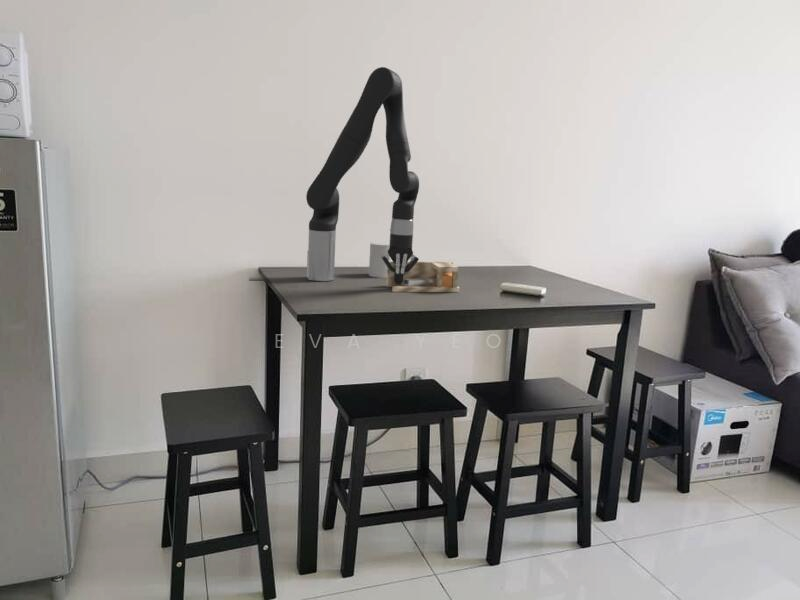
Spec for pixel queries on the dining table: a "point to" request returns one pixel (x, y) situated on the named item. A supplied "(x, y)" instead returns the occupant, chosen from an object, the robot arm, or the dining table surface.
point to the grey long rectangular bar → (420, 282)
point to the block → (446, 279)
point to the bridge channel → (425, 272)
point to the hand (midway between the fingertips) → (398, 284)
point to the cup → (378, 259)
